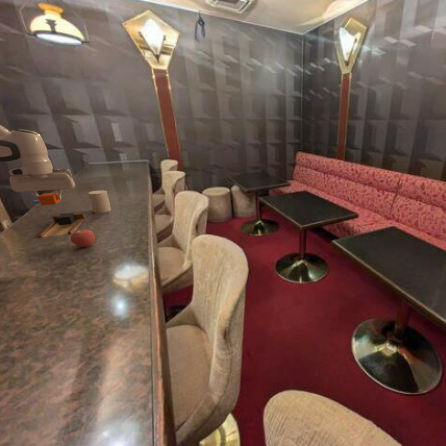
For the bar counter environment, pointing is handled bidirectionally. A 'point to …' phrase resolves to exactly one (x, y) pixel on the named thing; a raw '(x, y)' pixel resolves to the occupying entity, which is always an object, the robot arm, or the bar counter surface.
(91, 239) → the apple
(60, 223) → the black block
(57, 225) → the jig
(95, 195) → the cup
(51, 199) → the orange block
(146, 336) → the bar counter surface
